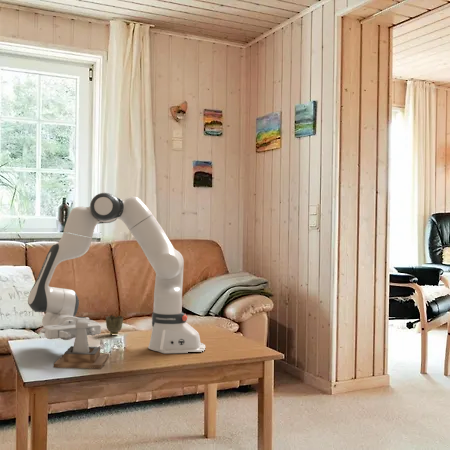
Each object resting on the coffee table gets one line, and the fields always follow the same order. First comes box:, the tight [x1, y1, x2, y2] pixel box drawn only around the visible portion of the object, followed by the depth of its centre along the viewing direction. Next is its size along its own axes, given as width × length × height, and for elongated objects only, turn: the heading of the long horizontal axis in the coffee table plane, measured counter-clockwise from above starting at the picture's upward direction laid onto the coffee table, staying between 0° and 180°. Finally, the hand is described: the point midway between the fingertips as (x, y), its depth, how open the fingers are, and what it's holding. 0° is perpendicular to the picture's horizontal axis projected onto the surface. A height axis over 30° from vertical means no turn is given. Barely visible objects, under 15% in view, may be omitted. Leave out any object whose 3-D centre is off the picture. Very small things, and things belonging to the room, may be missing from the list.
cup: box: [105, 315, 124, 336], centre depth 252 cm, size 8×7×8 cm
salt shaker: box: [73, 321, 90, 353], centre depth 206 cm, size 6×6×13 cm
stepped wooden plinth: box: [53, 345, 110, 370], centre depth 205 cm, size 16×16×4 cm
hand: (81, 334), depth 206 cm, fingers open, 8 cm apart
